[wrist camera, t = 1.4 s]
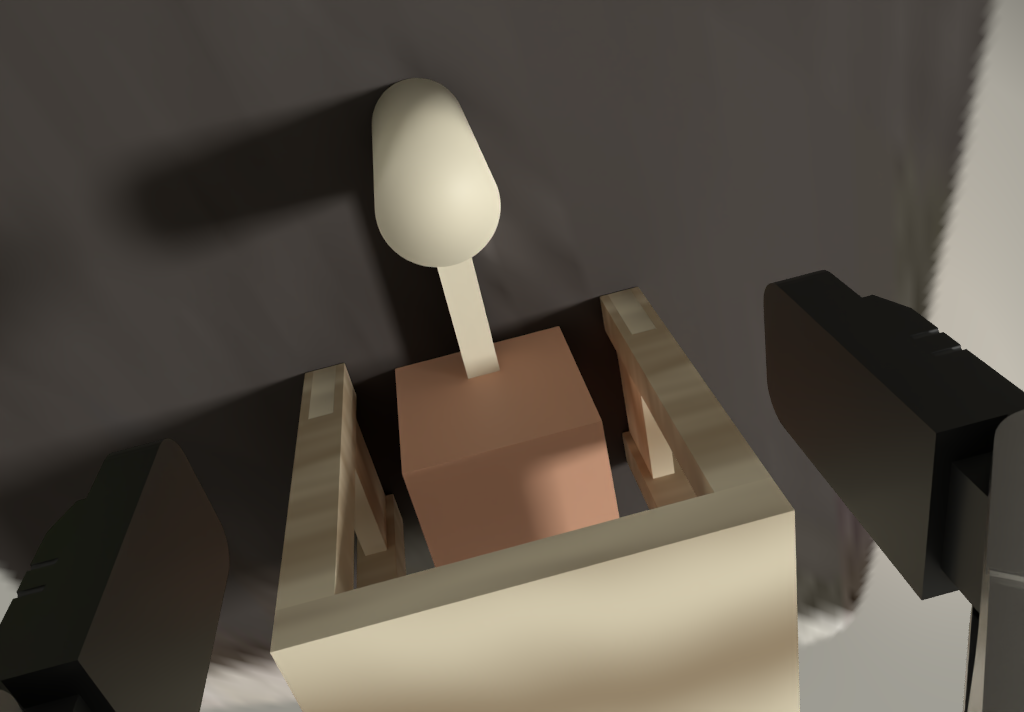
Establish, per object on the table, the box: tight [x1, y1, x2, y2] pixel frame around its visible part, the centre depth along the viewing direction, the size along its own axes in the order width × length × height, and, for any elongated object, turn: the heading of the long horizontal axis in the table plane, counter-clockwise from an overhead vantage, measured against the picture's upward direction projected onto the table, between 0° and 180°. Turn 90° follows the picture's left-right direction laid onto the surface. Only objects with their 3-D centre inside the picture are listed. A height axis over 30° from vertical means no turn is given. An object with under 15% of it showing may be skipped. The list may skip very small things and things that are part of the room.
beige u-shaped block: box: [270, 287, 800, 712], centre depth 25 cm, size 8×12×12 cm, turn 102°
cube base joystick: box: [372, 78, 619, 567], centre depth 24 cm, size 15×6×8 cm, turn 12°
